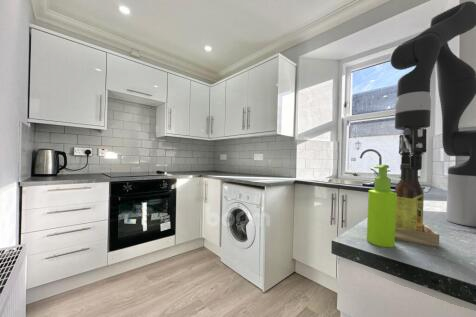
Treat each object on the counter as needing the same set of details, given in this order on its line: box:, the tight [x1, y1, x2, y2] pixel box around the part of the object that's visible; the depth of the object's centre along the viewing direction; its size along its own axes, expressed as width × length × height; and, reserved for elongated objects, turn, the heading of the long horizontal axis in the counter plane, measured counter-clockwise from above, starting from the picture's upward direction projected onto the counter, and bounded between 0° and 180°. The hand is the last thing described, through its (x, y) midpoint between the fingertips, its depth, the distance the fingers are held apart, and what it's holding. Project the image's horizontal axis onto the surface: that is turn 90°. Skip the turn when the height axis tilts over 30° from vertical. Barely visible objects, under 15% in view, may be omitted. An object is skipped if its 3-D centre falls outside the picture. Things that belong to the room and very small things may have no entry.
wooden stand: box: [395, 224, 440, 248], centre depth 57 cm, size 9×10×3 cm
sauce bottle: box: [394, 163, 425, 232], centre depth 57 cm, size 7×6×20 cm
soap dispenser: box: [366, 164, 397, 248], centre depth 51 cm, size 6×7×20 cm
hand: (410, 169), depth 57 cm, fingers open, 8 cm apart
